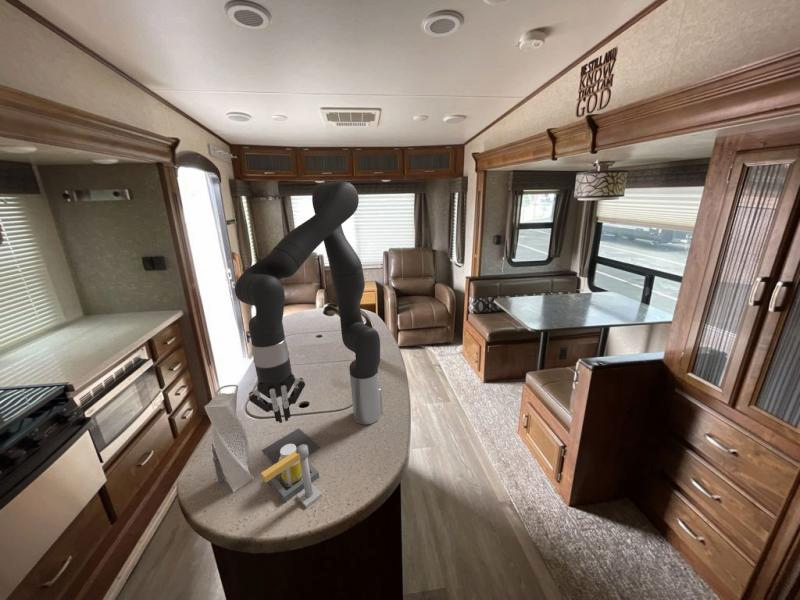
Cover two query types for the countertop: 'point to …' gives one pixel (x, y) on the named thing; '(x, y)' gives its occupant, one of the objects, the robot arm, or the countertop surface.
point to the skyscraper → (228, 442)
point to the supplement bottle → (294, 471)
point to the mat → (292, 438)
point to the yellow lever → (285, 463)
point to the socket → (300, 486)
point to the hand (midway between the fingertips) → (283, 419)
